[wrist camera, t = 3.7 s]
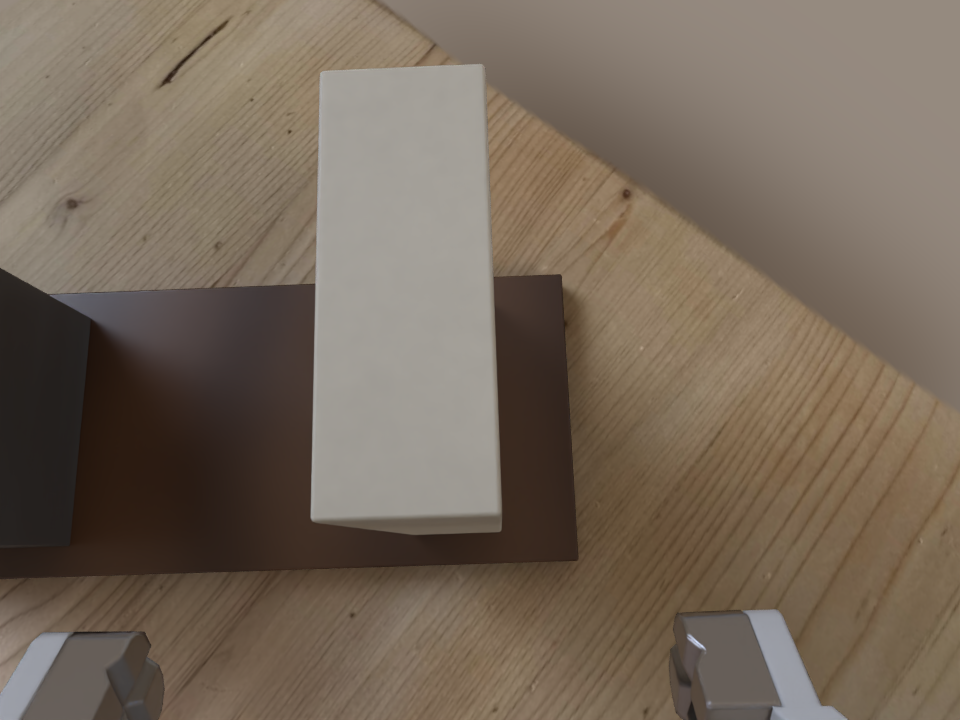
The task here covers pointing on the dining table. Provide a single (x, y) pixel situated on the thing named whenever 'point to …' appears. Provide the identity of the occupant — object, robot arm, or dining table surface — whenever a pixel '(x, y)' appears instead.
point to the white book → (405, 304)
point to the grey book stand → (236, 435)
